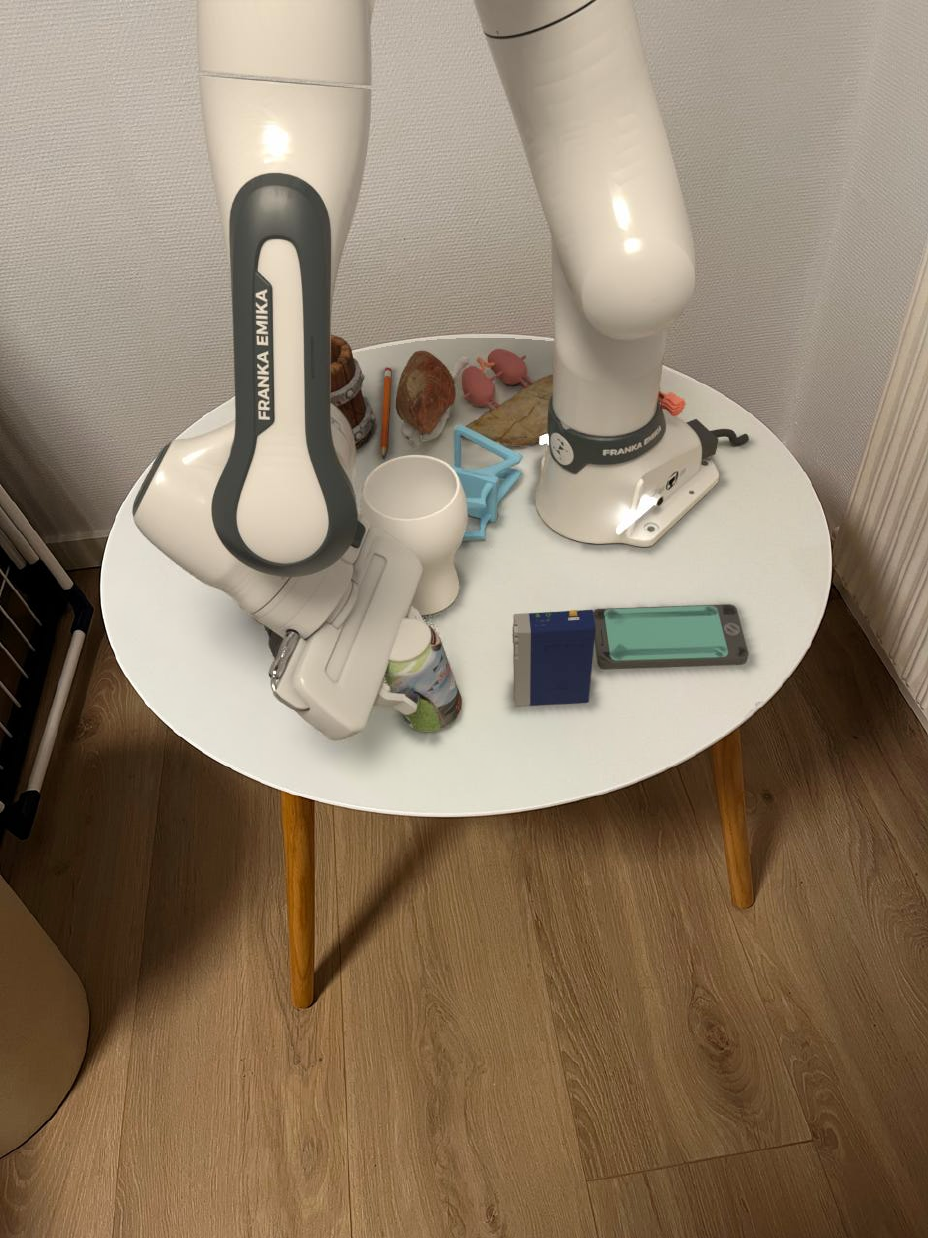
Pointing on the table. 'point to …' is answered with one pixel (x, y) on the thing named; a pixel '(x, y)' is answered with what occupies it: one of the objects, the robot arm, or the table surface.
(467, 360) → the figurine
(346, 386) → the mug
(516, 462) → the chair
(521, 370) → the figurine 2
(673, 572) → the table surface
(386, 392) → the pencil
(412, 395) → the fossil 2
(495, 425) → the fossil
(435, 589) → the cup
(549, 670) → the blue rectangular block
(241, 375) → the robot arm
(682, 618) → the smartphone
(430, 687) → the beverage can
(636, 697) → the table surface
